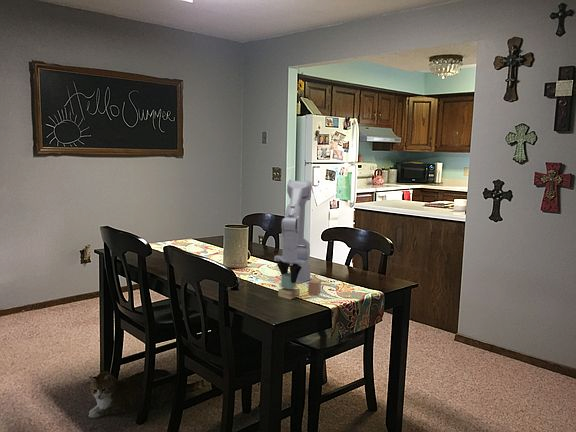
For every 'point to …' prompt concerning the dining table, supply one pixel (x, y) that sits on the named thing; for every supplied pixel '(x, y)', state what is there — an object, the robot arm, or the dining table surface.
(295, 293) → the maple block
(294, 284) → the teal block
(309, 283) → the terracotta block
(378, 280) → the dining table surface
